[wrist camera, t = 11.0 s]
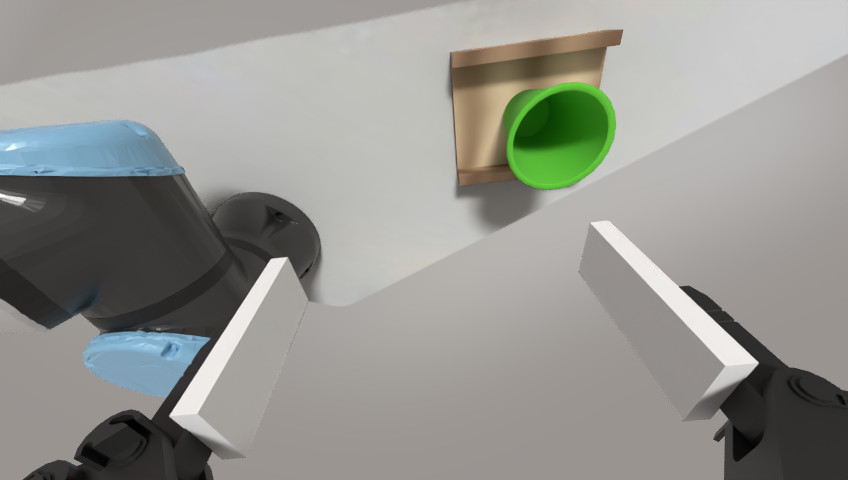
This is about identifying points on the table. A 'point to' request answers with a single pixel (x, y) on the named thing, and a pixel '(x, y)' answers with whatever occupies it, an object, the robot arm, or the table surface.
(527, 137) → the cup
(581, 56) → the wooden tray
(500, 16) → the table surface
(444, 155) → the table surface
